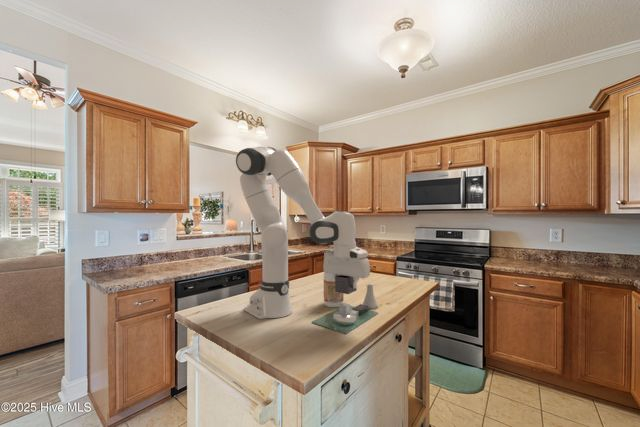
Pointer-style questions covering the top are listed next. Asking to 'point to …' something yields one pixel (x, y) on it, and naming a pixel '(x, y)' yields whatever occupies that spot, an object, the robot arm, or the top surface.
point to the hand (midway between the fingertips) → (345, 286)
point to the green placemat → (345, 318)
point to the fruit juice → (331, 289)
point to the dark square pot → (344, 284)
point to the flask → (370, 298)
